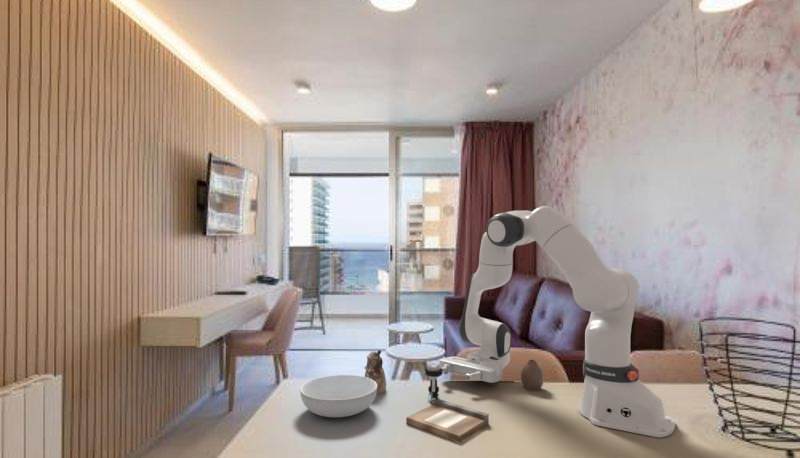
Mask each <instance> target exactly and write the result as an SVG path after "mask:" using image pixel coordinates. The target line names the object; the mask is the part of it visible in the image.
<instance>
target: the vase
mask: <svg viewBox="0 0 800 458" xmlns="http://www.w3.org/2000/svg"><path fill="white" fill-rule="evenodd" d="M544 378H545V376H544V372H543V370H542V368H541V366H539V364H538V362H537V360H536V359H528V360H527V362H526V364H525V365H524V366H523V367H522V369H521V372H520V380H521V383H522V386H523V387H524V389H526V390H527V391H530V392H531V391H533V392H534V391H536V392H537V391H539V390H540V389H541V388H542V387H543V385H544V382H545V379H544Z"/></svg>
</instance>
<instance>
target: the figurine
mask: <svg viewBox="0 0 800 458" xmlns="http://www.w3.org/2000/svg"><path fill="white" fill-rule="evenodd" d="M381 353H382V350H380V349H379V350H377V351H371V352H369V354H367V356H366V358H367V359H366V360H367V361H366V366H364V369H365V372H364V377H367V378H369V379H372V380H374V381H375V382H376V383H377V393H376V395H380V394H383V393H385V392H386V390H387V379H386V374H385V370H384V367H383V363H384V362H383V358H382V357H381V356H380V355H381Z"/></svg>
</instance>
